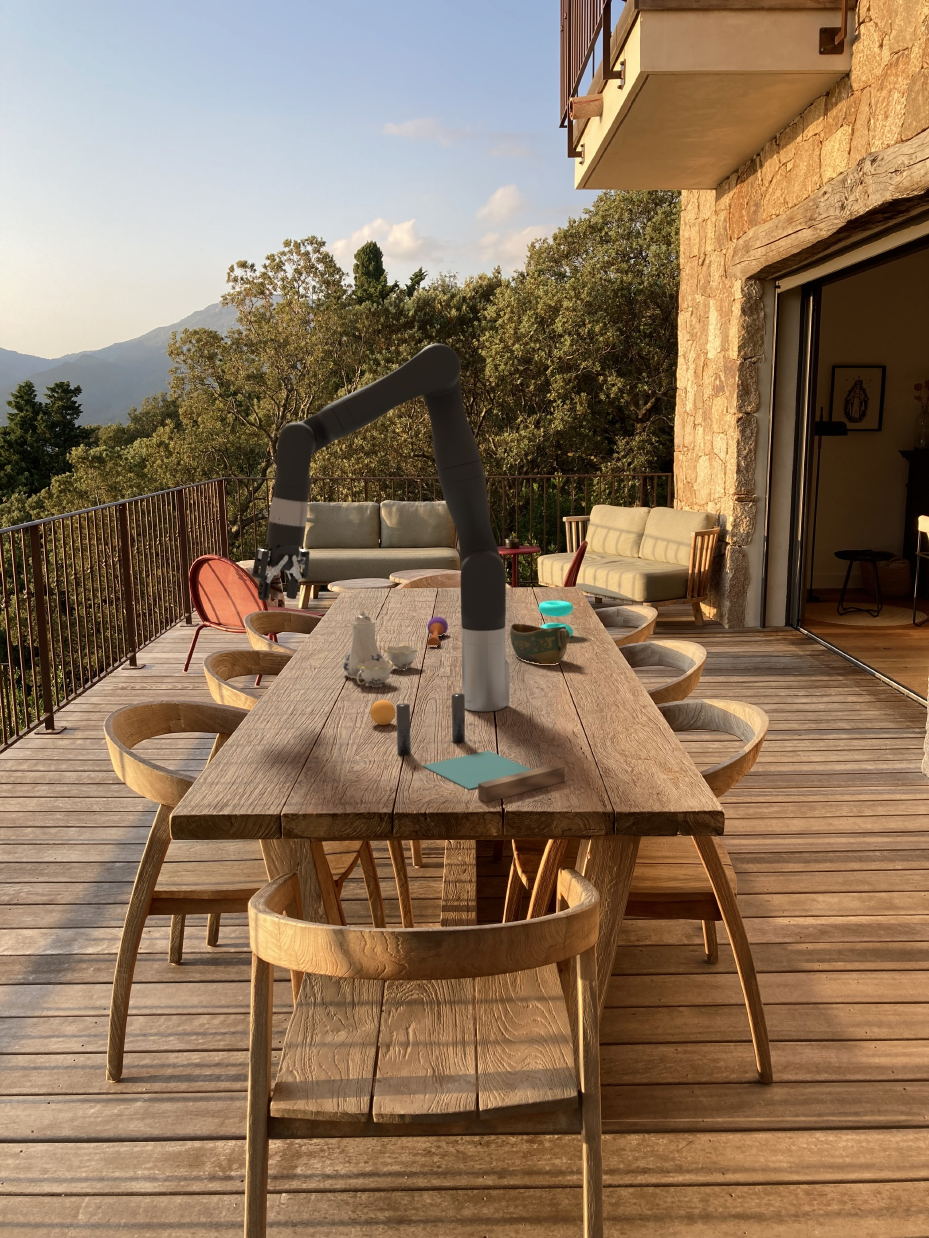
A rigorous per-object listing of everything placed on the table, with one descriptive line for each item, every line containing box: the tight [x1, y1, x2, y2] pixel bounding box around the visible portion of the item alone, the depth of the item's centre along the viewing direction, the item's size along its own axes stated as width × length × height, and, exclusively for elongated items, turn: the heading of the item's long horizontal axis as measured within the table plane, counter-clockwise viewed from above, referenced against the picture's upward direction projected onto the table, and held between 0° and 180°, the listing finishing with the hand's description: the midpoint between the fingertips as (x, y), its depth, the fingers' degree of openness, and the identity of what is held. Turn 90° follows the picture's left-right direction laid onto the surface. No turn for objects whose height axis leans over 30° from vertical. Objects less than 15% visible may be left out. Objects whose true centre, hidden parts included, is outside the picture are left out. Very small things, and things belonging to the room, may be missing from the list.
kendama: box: [427, 616, 449, 646], centre depth 269 cm, size 6×6×20 cm
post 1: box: [395, 702, 412, 757], centre depth 169 cm, size 2×2×9 cm
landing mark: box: [422, 750, 533, 791], centre depth 161 cm, size 14×14×1 cm
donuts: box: [538, 600, 574, 636], centre depth 273 cm, size 10×10×10 cm
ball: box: [369, 699, 397, 726], centre depth 187 cm, size 5×5×5 cm
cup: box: [509, 623, 571, 664], centre depth 242 cm, size 13×20×10 cm, turn 7°
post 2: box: [451, 692, 466, 744], centre depth 175 cm, size 2×2×9 cm
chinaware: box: [342, 609, 420, 688], centre depth 227 cm, size 28×17×17 cm, turn 168°
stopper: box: [477, 763, 566, 803], centre depth 151 cm, size 16×2×2 cm, turn 125°
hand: (277, 599), depth 194 cm, fingers open, 8 cm apart
